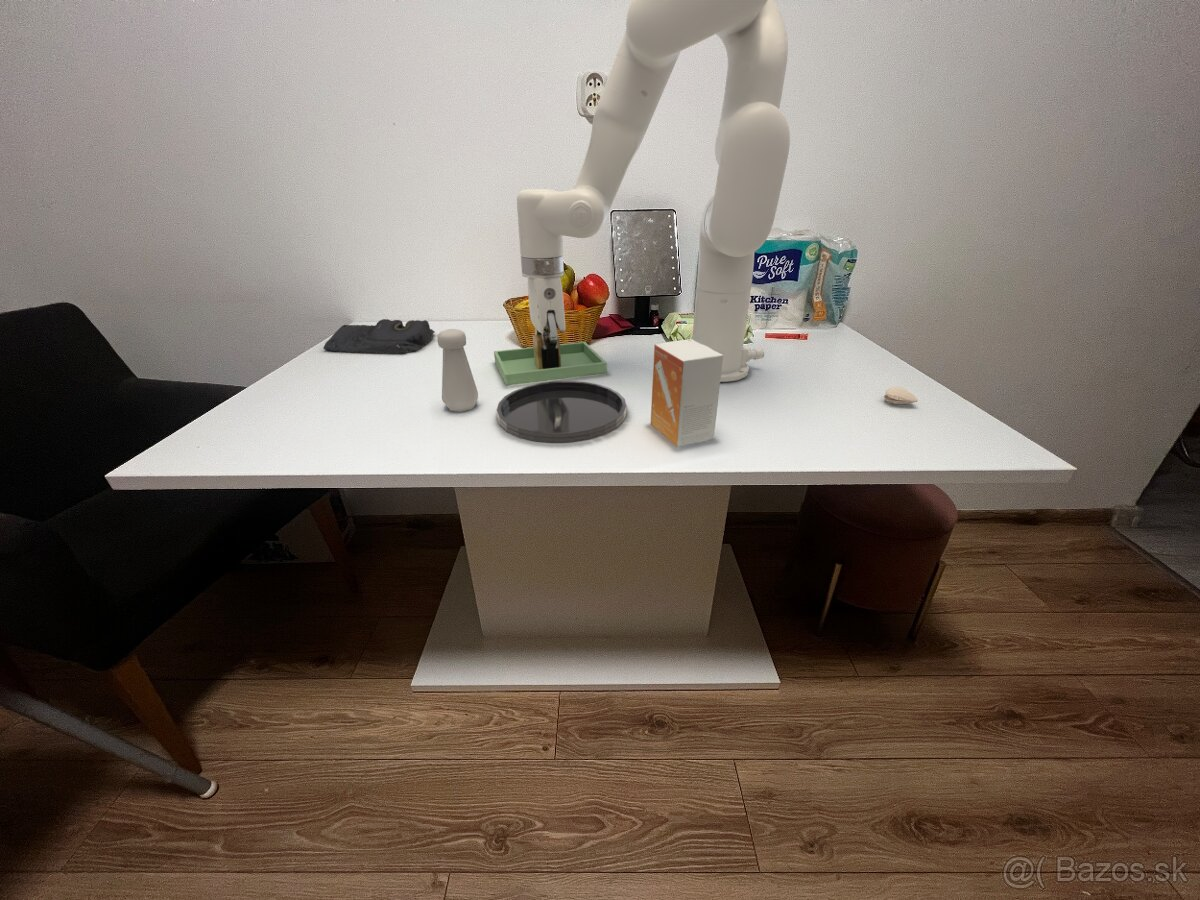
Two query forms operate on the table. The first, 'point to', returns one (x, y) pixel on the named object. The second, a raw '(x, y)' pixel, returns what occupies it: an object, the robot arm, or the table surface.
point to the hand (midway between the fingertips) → (547, 363)
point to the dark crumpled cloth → (381, 337)
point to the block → (537, 350)
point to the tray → (574, 363)
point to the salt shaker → (456, 372)
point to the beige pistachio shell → (899, 396)
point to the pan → (561, 411)
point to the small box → (685, 391)
